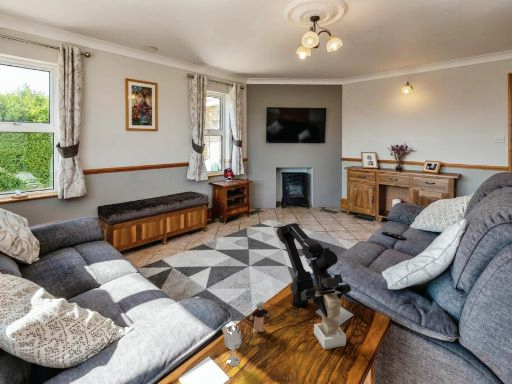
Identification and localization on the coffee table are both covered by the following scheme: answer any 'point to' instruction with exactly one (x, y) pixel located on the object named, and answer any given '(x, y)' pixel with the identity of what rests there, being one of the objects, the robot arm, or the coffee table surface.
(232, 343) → the wineglass
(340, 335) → the post socket
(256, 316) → the grandmother figurine
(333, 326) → the birch post block
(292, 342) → the coffee table surface
